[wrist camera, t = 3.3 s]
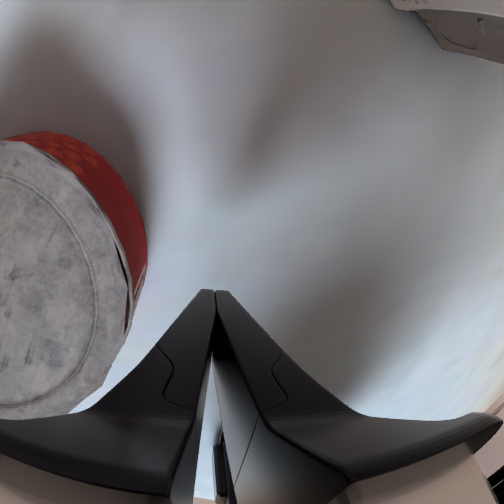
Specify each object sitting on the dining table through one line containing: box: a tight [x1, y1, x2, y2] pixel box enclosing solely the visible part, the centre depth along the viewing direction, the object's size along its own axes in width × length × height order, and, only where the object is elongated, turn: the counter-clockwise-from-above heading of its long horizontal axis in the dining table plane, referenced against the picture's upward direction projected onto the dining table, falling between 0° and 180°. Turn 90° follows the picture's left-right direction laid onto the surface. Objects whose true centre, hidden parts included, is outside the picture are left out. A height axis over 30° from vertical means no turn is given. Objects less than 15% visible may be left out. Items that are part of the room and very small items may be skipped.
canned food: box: [0, 131, 147, 420], centre depth 8 cm, size 11×10×10 cm
